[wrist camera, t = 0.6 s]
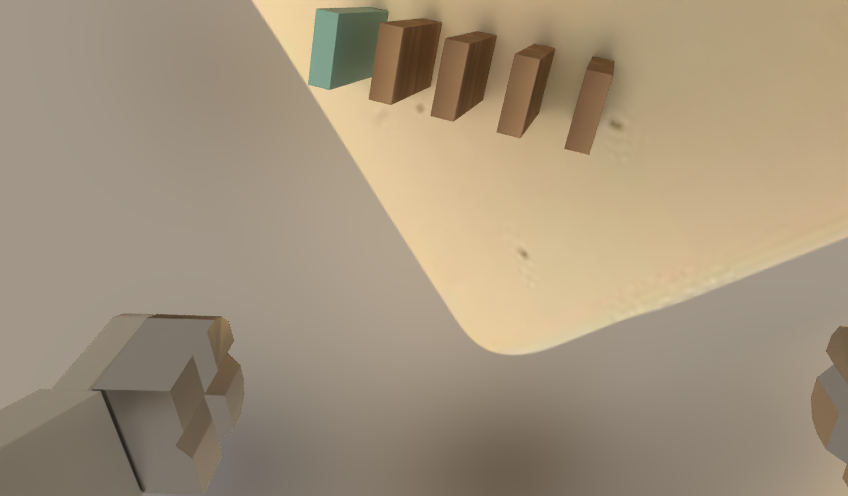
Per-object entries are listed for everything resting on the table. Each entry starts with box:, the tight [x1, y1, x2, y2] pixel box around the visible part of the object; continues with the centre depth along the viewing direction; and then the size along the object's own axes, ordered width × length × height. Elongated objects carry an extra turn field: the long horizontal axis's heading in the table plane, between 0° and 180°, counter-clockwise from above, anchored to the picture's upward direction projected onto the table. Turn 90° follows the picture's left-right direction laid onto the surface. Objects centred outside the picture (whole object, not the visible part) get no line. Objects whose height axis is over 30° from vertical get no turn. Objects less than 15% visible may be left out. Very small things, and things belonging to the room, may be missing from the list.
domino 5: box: [564, 57, 614, 155], centre depth 44 cm, size 2×5×10 cm, turn 170°
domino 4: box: [497, 44, 555, 138], centre depth 45 cm, size 2×5×10 cm, turn 170°
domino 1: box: [308, 7, 388, 90], centre depth 47 cm, size 2×5×10 cm, turn 170°
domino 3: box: [431, 31, 497, 122], centre depth 46 cm, size 2×5×10 cm, turn 170°
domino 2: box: [369, 18, 442, 105], centre depth 46 cm, size 2×5×10 cm, turn 170°
